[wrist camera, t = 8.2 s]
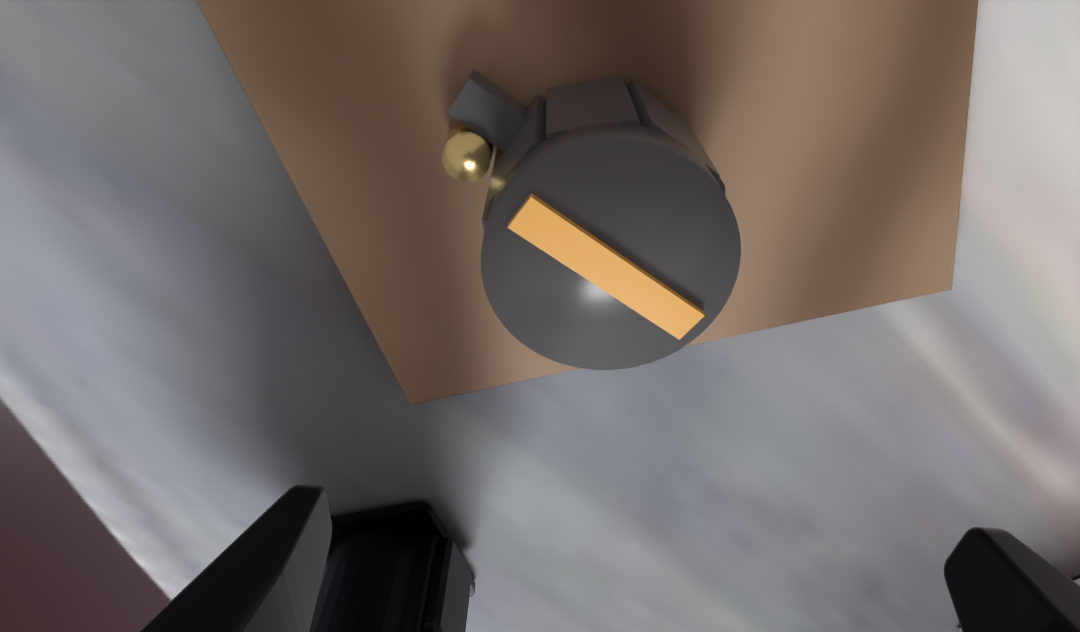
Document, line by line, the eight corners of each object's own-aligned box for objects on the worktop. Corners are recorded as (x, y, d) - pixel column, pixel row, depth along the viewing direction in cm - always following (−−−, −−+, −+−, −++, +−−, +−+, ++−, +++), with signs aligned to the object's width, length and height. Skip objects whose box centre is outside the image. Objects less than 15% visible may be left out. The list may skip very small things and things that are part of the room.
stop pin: (459, 165, 17) (451, 187, 16) (443, 123, 17) (435, 142, 15) (500, 154, 17) (496, 175, 16) (486, 111, 16) (480, 129, 15)
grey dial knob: (737, 160, 17) (800, 248, 12) (609, 297, 19) (625, 410, 15) (524, -12, 15) (513, 23, 10) (410, 168, 17) (363, 257, 13)
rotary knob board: (415, 386, 23) (384, 493, 19) (201, -31, 16) (74, -6, 11) (935, 273, 20) (1035, 370, 16) (977, -308, 13) (1187, -410, 8)
